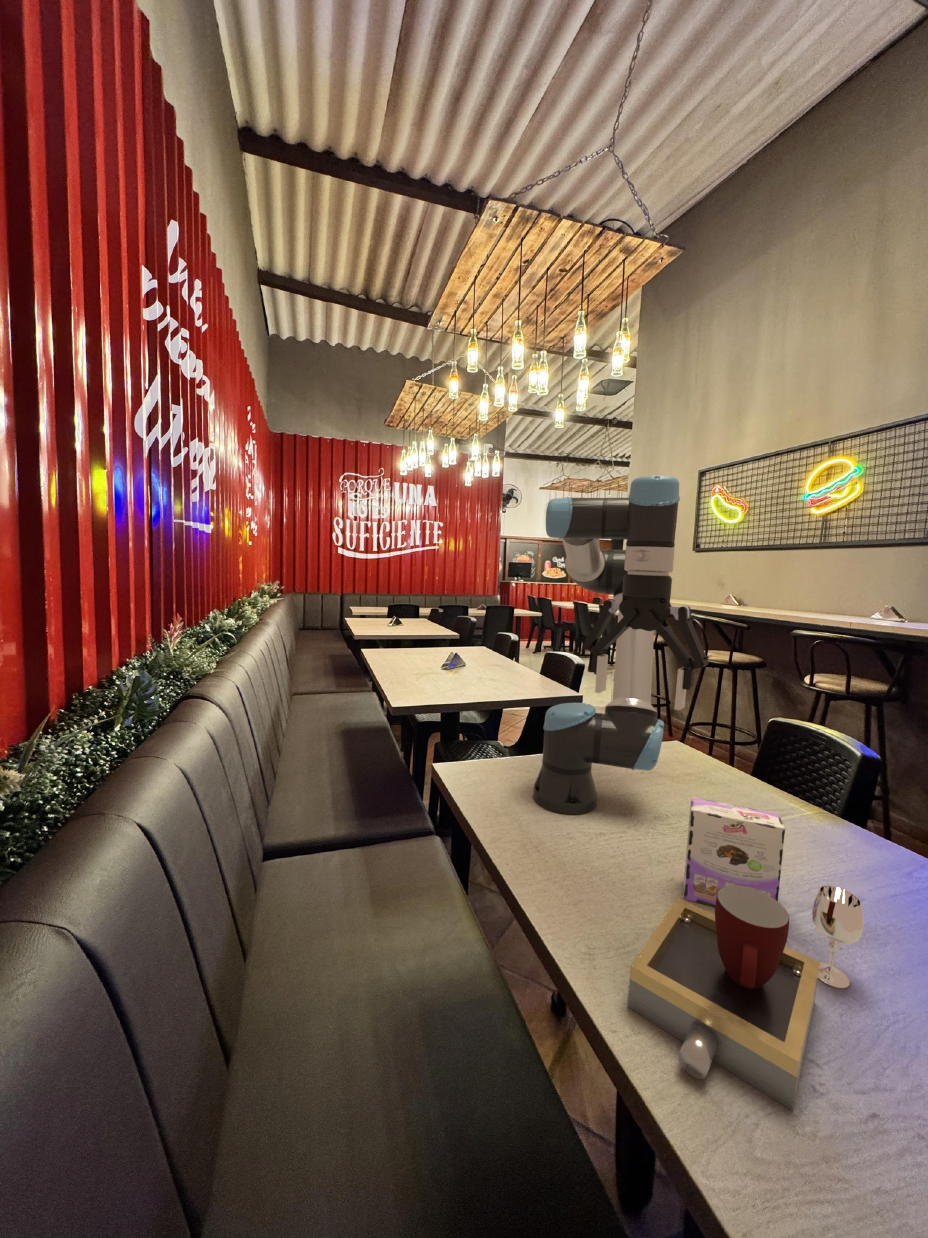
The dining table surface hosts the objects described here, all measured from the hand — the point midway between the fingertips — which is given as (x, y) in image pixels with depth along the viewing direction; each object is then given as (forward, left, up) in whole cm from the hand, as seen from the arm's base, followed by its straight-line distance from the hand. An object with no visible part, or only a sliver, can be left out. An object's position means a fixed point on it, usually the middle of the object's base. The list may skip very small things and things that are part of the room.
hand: (637, 699), depth 84 cm
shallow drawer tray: (+20, -16, -34) cm, 42 cm away
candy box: (+15, +9, -34) cm, 38 cm away
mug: (+22, -14, -30) cm, 40 cm away
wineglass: (+30, +2, -34) cm, 45 cm away
